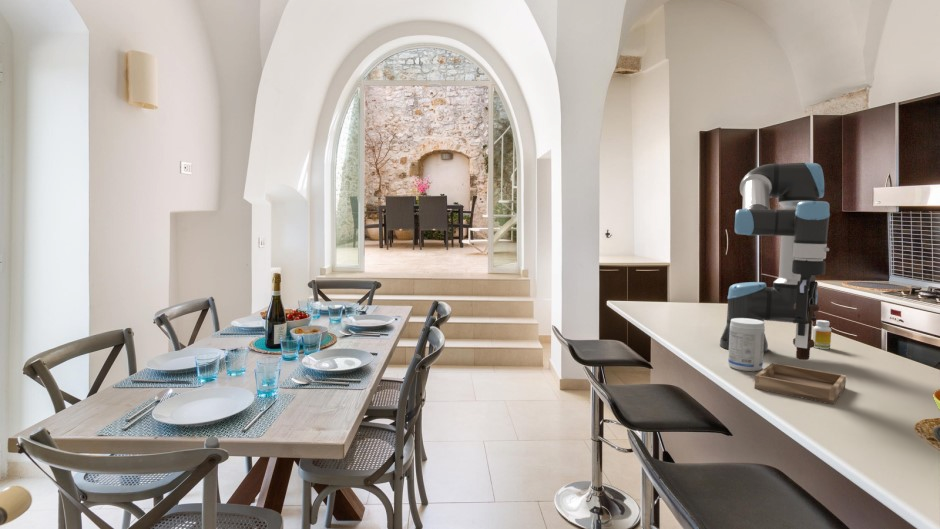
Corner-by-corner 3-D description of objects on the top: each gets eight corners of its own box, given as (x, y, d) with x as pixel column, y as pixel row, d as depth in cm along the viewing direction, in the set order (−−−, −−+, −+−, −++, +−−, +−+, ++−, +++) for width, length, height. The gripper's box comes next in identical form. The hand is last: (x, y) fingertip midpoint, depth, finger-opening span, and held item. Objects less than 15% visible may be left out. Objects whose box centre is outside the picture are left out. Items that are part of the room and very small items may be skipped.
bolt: (817, 362, 143) (821, 306, 142) (796, 361, 144) (800, 305, 143) (808, 357, 148) (812, 302, 147) (788, 355, 149) (791, 302, 148)
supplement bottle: (833, 349, 191) (835, 322, 190) (818, 349, 191) (820, 322, 190) (823, 346, 197) (825, 319, 196) (808, 345, 197) (810, 319, 196)
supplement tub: (744, 362, 173) (747, 317, 171) (769, 370, 164) (773, 322, 162) (720, 364, 169) (723, 318, 168) (745, 373, 160) (748, 324, 159)
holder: (771, 374, 160) (772, 362, 159) (845, 388, 148) (846, 375, 147) (754, 388, 147) (755, 375, 146) (833, 404, 134) (834, 390, 134)
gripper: (819, 262, 135) (812, 353, 137) (831, 258, 148) (825, 343, 150) (785, 260, 140) (779, 348, 142) (800, 257, 153) (794, 338, 155)
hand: (803, 345), depth 146 cm, fingers closed on bolt, 4 cm apart
